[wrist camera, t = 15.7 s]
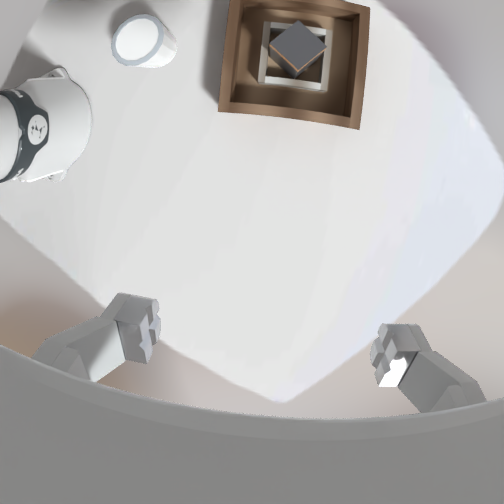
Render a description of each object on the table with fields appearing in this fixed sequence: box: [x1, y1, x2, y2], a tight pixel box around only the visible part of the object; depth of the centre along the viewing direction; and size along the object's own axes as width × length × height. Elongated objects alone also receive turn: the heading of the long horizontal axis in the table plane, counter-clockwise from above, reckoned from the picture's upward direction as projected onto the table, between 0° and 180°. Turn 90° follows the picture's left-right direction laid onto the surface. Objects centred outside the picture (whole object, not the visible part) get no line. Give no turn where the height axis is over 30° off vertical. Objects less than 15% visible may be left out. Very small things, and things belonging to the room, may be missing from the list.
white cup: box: [111, 14, 177, 68], centre depth 29 cm, size 7×7×7 cm
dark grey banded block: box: [269, 20, 327, 79], centre depth 27 cm, size 4×4×8 cm
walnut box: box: [218, 0, 370, 130], centre depth 30 cm, size 16×16×5 cm
